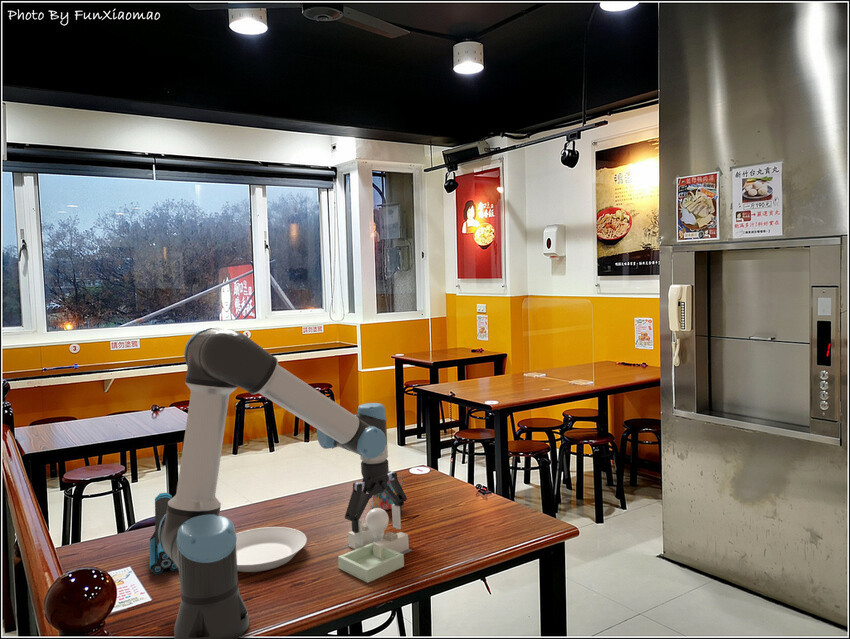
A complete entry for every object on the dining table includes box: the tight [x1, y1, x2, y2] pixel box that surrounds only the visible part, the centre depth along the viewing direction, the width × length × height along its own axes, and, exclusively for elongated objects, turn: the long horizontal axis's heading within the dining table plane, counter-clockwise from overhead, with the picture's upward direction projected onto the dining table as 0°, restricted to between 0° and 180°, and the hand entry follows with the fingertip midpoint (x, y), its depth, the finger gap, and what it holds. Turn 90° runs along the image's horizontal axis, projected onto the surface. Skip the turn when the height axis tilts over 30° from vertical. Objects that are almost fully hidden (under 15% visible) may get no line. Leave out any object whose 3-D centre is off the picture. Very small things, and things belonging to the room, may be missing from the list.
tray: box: [337, 542, 405, 584], centre depth 162 cm, size 12×12×3 cm
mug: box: [370, 475, 405, 511], centre depth 207 cm, size 12×9×11 cm
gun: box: [149, 492, 179, 575], centre depth 175 cm, size 8×26×15 cm, turn 22°
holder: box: [345, 521, 413, 559], centre depth 174 cm, size 10×17×6 cm, turn 44°
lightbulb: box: [365, 508, 390, 542], centre depth 174 cm, size 6×6×11 cm
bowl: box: [235, 526, 308, 573], centre depth 172 cm, size 25×25×4 cm
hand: (378, 535), depth 174 cm, fingers open, 13 cm apart
